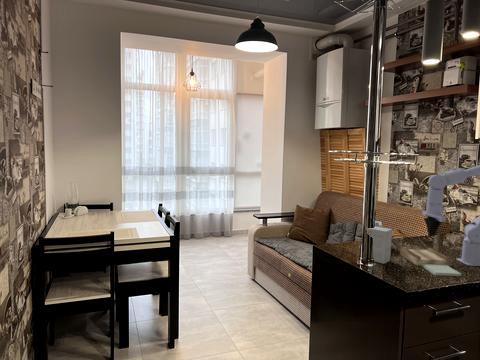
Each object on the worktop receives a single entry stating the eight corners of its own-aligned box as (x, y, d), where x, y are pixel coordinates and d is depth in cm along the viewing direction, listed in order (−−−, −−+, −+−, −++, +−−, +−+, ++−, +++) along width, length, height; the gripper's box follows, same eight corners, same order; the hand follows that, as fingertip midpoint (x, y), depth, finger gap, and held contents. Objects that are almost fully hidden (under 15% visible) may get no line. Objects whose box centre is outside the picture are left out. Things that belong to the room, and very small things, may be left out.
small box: (390, 261, 144) (392, 229, 143) (383, 264, 140) (386, 231, 138) (370, 256, 150) (372, 225, 149) (363, 259, 145) (366, 227, 144)
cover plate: (445, 268, 140) (445, 264, 140) (460, 277, 130) (461, 273, 130) (421, 267, 140) (421, 263, 140) (434, 276, 130) (435, 272, 130)
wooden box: (430, 255, 154) (431, 247, 154) (449, 266, 140) (450, 258, 140) (400, 254, 154) (401, 246, 154) (416, 265, 140) (417, 256, 140)
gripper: (416, 200, 157) (413, 230, 158) (434, 205, 143) (431, 239, 144) (432, 201, 157) (429, 231, 158) (452, 206, 143) (448, 240, 144)
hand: (431, 235), depth 151 cm, fingers closed
